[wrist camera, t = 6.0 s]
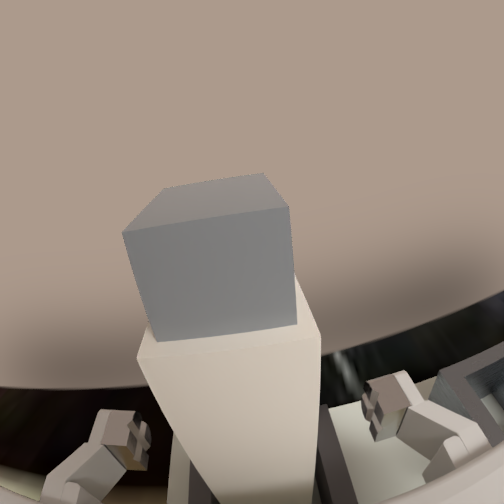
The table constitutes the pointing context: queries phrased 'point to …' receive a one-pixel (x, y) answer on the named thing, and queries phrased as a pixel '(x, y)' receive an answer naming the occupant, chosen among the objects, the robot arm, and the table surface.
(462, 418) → the robot arm
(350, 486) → the panel
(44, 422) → the table surface
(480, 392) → the box
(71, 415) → the table surface
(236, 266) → the plug
